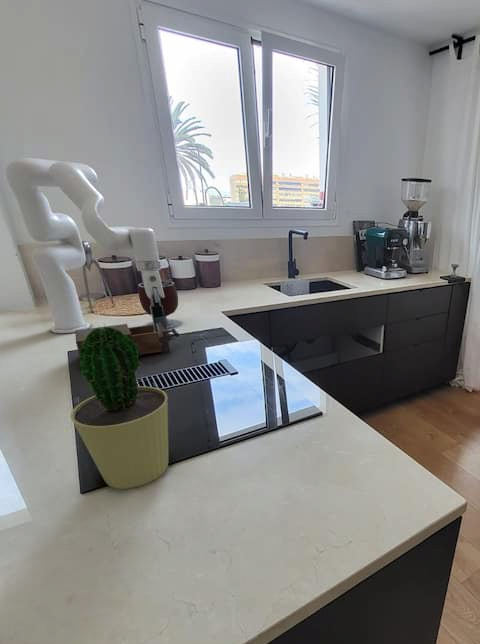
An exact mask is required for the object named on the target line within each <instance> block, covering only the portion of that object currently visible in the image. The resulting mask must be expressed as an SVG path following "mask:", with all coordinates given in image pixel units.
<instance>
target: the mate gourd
mask: <svg viewBox="0 0 480 644" xmlns="http://www.w3.org/2000/svg"><path fill="white" fill-rule="evenodd" d="M173 280H174V279H173V278H169V279H166V280H161V283H162V287H163V292H164V298H162V297H161V296H160V295H159V296H160V302H161V305H162V306H163V311H164V316H165V322H166V327H167V330H171V329H173V328H174V329H175V328H177V327H179V326H180V325H181V322H180V321H179V320H178V319H173V318H172V319H168V318H167V317H168V316H170V315H172V314H174V313H175V312H176V310H177V308H178V306H179V296H178V291H177V287H176V285H175V282H173ZM137 286H138V298H139V302H140V305H141V307H142V309H143V311H144V312H146V314H148V315H149V316H152V315H151V310H150V306H151V303H150V298H149V297H148V296H147V294H146V291H145V287H144V283H143V282H141V283H139V284H138V285H137ZM146 325H153V321H150V322H148V323H147V324H146ZM153 327H154V325H153Z"/></svg>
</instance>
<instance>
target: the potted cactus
mask: <svg viewBox="0 0 480 644" xmlns="http://www.w3.org/2000/svg"><path fill="white" fill-rule="evenodd" d="M103 325H104V326H103V327H104V329H103V328H101V329H99V328H98V327H100V326H99V325H97V327H96V328H97V329H94V330H93V331H92V332H90V331H89V330H88V331H89V334H88V336H87V337H86V339H85V343H83V345H82V348H81V351H80V353H79V352H78V355H79V354H80V355H79V359H78V358H77V359H76V360H77V361H78V362H79V365H80V368H81V375H80V376H79V377H82V376H83V377H84V380H86V381H85V382H86V383H88V384H87V388H88V387H89V389H88V390H90V389H92V391H90V392H89V393H87V394H94V395H92V396H91V397H89V398H86V399H85V400H83V401H81V402H80V403H78V404H77V405H76V406H75V407H74V408H73V409H72V411H71V412H70V419H71V421H72V422H73V425H74V427H75V429H76V430H77V432H78V434H79V436H80V438H81V440H82V441H83V443H84V445H85V447H86V449H87V451H88V453H89V455H90V456H91V458H92V460H93V462H94V464H95V466H96V468H97V469H98V471H99V473H100V475H101V477H102V479H103V481H104V483H106V484H107V486H109V487H111V488H113V489H119V490H124V489H125V490H126V489H133V488H138V487H141V486H144V485H147V484H150V483H152V482H153V481H155V480H157V479H158V478H159V477H161V476H162V475H163V474H164V473H165V472H166V470H167V469H168V466H169V460H170V459H169V457H170V455H169V409H168V407H169V405H168V403H169V402H168V394H167V393H166V392H165V391H164V390H162V389H160V388H158V387H153V386H145V385H144V386H143V385H142V386H141V385H140V386H139V383H138V381H139V380H140V378H138V379H137V374H138V373H141V372H140V371H139V370H137V369H139V367H140V366H141V365H142V364H143V365H144V362H142V361H140V360H139V358H140V357H142V355H138V353H139V352H137V351H138V350H137V347H136V345H135V344H134V343H133V340H132V338H131V340H132V341H131V340H130V339H129V338H128V337H129V336H127V335H128V334H129V333H128V334H127V335H126V334H125V335H126V336H125V335H124V334H123V332H121V331H119V330H118V329H120V328H118V329H114V328H110V327H109V328H107V327H106V324H103ZM120 327H121V326H120ZM125 332H126V331H125ZM125 332H124V333H125ZM81 340H82V339H81ZM76 342H77V341H76V340H75V343H76ZM80 342H81V341H80ZM82 342H84V341H83V340H82ZM82 342H81V343H82ZM136 342H137V341H136ZM137 343H138V342H137ZM79 344H80V343H79ZM140 344H141V343H140ZM80 345H81V344H80ZM137 345H138V344H137ZM76 350H77V351H78V348H76ZM137 371H138V372H137ZM87 388H86V389H87Z"/></svg>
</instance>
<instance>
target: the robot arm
mask: <svg viewBox="0 0 480 644" xmlns="http://www.w3.org/2000/svg"><path fill="white" fill-rule="evenodd" d="M5 176H6V180H7V183H8V185H9V187H10V189H11V191H12V193H13V195H14V197H15V199H16V201H17V203H18V206H19V207H18V208H19V211H20V212H21V216H22V218H23V221H24V224H25V227H26V230H27V232H28V234H29V236H30V237H31V238H32V239H33V240H34V241H36V242H41V243H42V242H57V241H58V244H49V245H42V246H38V247H37V248H35V249H34V250H33V251H32V252H31V261H32V263H33V266H34V267H35V269H36V272H37V273H38V275H39V277H40V281H41V283H42V286H43V289H44V292H45V295H46V300H47V302H48V306H49V310H50V312H51V316H52V319H53V323H54V325H53V326H51V328H50V330H51V332H52V333H55V334H70V333H71V334H72V333H75V330H82V329H90V327H91V323H90V322H89V321H85V318H84V315H83V311H82V307H81V303H80V300H79V296H78V292H77V288H76V285H75V282H74V280H73V278H72V277H71V276H70V275H69V274H68V273H67V272H66V271H71V270H77V269H80V268H83V265H84V264H85V261H86V256H85V252H84V248H83V245H82V237H81V233H80V231H79V228H78V226H77V224H76V222H75V221H74V219H73V218H71V216H69V215H67V214H66V213H61V212H52V209H51V205H50V203H49V199H48V198H47V197H46V196H45V194H44V193H43V192H42V190H40V189H39V188H38V187H48V188H49V187H50V188H51V187H53V188H59V190H61V191H62V192H63V193H64V195H66V197H67V198H68V199H69V200H70V201H71V202H72V204H74V205H75V206H76V207H77V208H78V209H79V210H80V212H81V213H80V214H81V215H80V216H81V221H82V225H83V227H84V229H85V231H86V232H87V233H88V234H89V236H90V237H91V238H92V239H93V240H94V241H95V242H96V243H97V244H98V245H99V246H100V247H102V248H103V249H104V250H107V251H109V252H119V251H125V250H127V251H128V250H132V252H133V256H134V261H135V262H134V263H135V267H136V270H137V271H138V272H141V278H142V283H144V287H145V291H146V294H147V296H148V297H149V298H150V303H152V306H153V307H152V311H153V316H154V318H157V317H163V311H162V306H161V302H160V296H161V297H162V298H164V292H163V287H162V283H161V281H162V279H161V274H160V270H162V266H161V261H160V255H159V249H158V244H157V239H156V233H155V231H154V229H152V228H150V227H136V226H129V225H126V226H124V225H123V226H108V224H106V223H105V222H104V221H103V219H102V218H101V217H100V215H99V214H98V212H99V211H100V210H102V208H103V207H104V205H105V198H104V196H103V195H102V194H101V193H100V192H99V191H98V190H97V189H96V188H97V187H98V185H99V177H98V174H97V173H96V171H95V170H94V169H93V168H92V167H91V166H89V165H87V164H85V163H81V162H72V161H63V160H53V159H43V158H34V157H15V158H13V159H11V160H9V162H8V163H7V164H6V167H5ZM159 295H160V296H159Z"/></svg>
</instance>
